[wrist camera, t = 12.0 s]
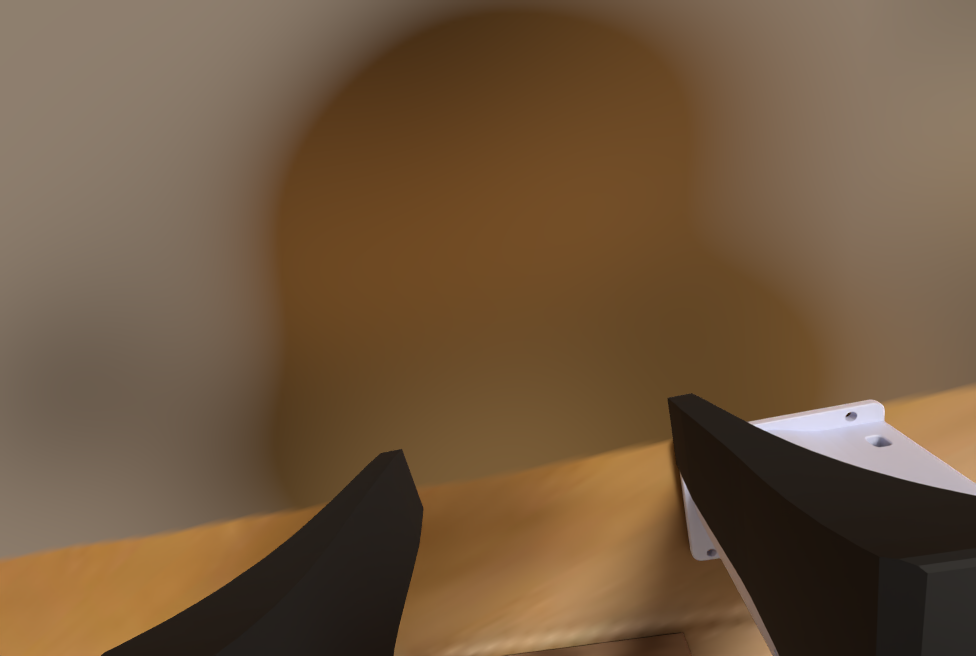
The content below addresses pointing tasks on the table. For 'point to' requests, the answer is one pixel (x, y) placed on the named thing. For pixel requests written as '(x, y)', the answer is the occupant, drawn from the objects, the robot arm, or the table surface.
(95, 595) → the table surface
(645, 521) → the table surface
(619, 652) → the pin board
